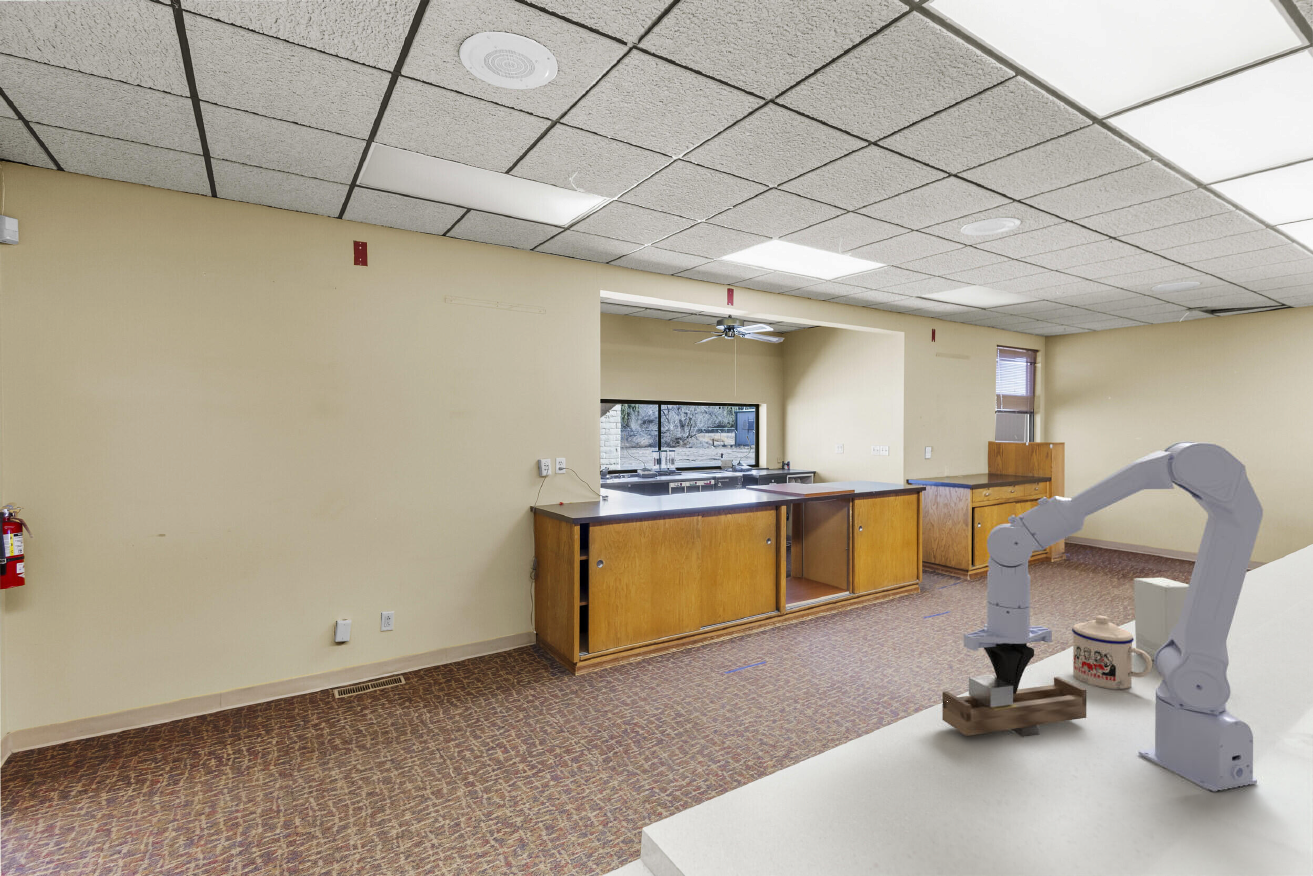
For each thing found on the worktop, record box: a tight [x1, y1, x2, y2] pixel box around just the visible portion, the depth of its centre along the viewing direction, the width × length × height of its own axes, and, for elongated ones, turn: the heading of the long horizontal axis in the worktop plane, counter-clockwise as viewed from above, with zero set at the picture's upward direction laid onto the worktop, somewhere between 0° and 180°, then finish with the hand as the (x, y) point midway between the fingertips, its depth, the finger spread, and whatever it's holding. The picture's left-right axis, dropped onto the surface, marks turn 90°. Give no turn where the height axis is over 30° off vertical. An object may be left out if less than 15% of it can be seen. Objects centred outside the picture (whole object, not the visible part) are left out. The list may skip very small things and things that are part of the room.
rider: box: [968, 673, 1013, 708], centre depth 93 cm, size 4×4×4 cm
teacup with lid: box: [1071, 615, 1153, 690], centre depth 110 cm, size 12×9×12 cm
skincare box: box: [1133, 577, 1189, 661], centre depth 121 cm, size 8×7×16 cm
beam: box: [941, 676, 1088, 738], centre depth 94 cm, size 22×6×6 cm, turn 104°
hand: (1007, 691), depth 94 cm, fingers closed
